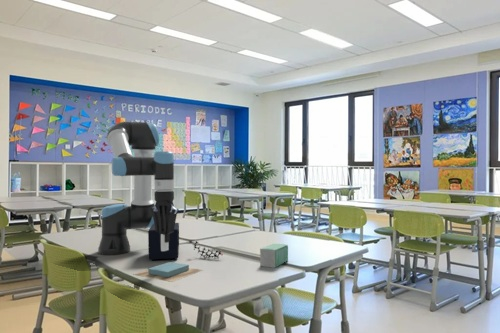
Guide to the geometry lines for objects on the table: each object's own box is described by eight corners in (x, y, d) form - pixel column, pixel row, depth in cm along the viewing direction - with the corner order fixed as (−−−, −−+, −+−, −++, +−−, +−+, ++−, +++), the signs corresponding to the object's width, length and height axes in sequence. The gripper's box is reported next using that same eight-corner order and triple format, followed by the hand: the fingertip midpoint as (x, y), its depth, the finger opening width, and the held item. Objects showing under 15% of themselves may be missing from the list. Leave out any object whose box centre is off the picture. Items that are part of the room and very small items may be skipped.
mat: (133, 275, 148) (133, 274, 148) (165, 265, 164) (165, 264, 164) (172, 283, 138) (172, 281, 138) (203, 271, 153) (203, 270, 153)
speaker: (178, 261, 171) (178, 227, 171) (148, 263, 169) (148, 228, 169) (179, 251, 192) (178, 221, 192) (152, 252, 190) (152, 221, 190)
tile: (148, 268, 148) (167, 272, 143) (169, 261, 159) (188, 264, 153) (148, 274, 148) (167, 277, 143) (169, 267, 159) (188, 270, 153)
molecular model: (220, 261, 171) (220, 242, 171) (190, 258, 176) (190, 240, 176) (226, 258, 177) (226, 240, 177) (196, 256, 182) (196, 238, 182)
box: (288, 260, 170) (288, 243, 170) (275, 268, 158) (275, 249, 158) (273, 259, 174) (273, 242, 174) (259, 266, 162) (259, 248, 162)
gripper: (145, 190, 152) (145, 250, 152) (170, 191, 146) (170, 254, 145) (158, 189, 159) (159, 247, 159) (183, 190, 152) (183, 250, 152)
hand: (164, 250), depth 152 cm, fingers closed
